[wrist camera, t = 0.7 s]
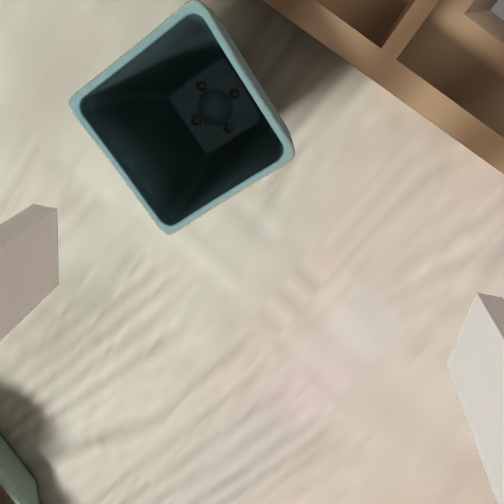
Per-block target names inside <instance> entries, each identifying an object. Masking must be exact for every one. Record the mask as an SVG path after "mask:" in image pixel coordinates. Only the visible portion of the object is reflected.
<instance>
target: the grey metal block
mask: <svg viewBox="0 0 504 504" xmlns="http://www.w3.org/2000/svg"><path fill="white" fill-rule="evenodd" d="M464 15H466V16H467V17H468V18H470V19H471V20H472V21H474V22H475V23H476V24H478V25H479V26H480V27H482V28H483V29H484V30H486V31H487V32H488V33H490V34H491V35H492V36H494V37H495V38H496V39H497V40H499V41H500V42H501V43H503V44H504V0H474V1H473V3H472V4H471V5H470V6H469V8H468V9H467V10H466V12H465V13H464Z"/></svg>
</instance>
